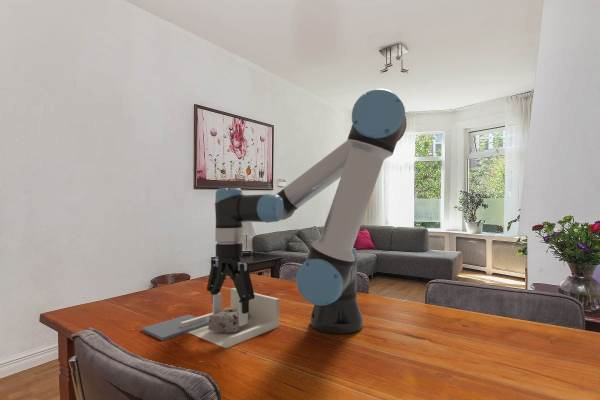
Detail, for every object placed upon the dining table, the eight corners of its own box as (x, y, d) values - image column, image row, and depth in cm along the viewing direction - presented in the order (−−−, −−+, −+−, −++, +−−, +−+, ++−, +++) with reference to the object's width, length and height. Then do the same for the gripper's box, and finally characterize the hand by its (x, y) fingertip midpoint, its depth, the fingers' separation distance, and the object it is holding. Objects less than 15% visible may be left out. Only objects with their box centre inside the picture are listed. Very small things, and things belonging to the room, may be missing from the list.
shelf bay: (279, 327, 101) (279, 298, 101) (226, 349, 86) (226, 315, 86) (233, 313, 113) (233, 287, 113) (180, 330, 98) (180, 301, 98)
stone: (227, 306, 107) (256, 307, 104) (227, 326, 106) (256, 327, 102) (200, 311, 95) (230, 311, 92) (199, 333, 94) (230, 334, 90)
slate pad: (210, 324, 102) (210, 322, 102) (162, 340, 90) (162, 337, 90) (188, 316, 109) (188, 314, 109) (141, 330, 97) (141, 327, 97)
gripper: (267, 243, 95) (268, 325, 94) (214, 238, 109) (215, 309, 109) (246, 246, 89) (247, 333, 89) (193, 241, 103) (194, 315, 103)
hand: (229, 320), depth 99 cm, fingers closed on stone, 11 cm apart
